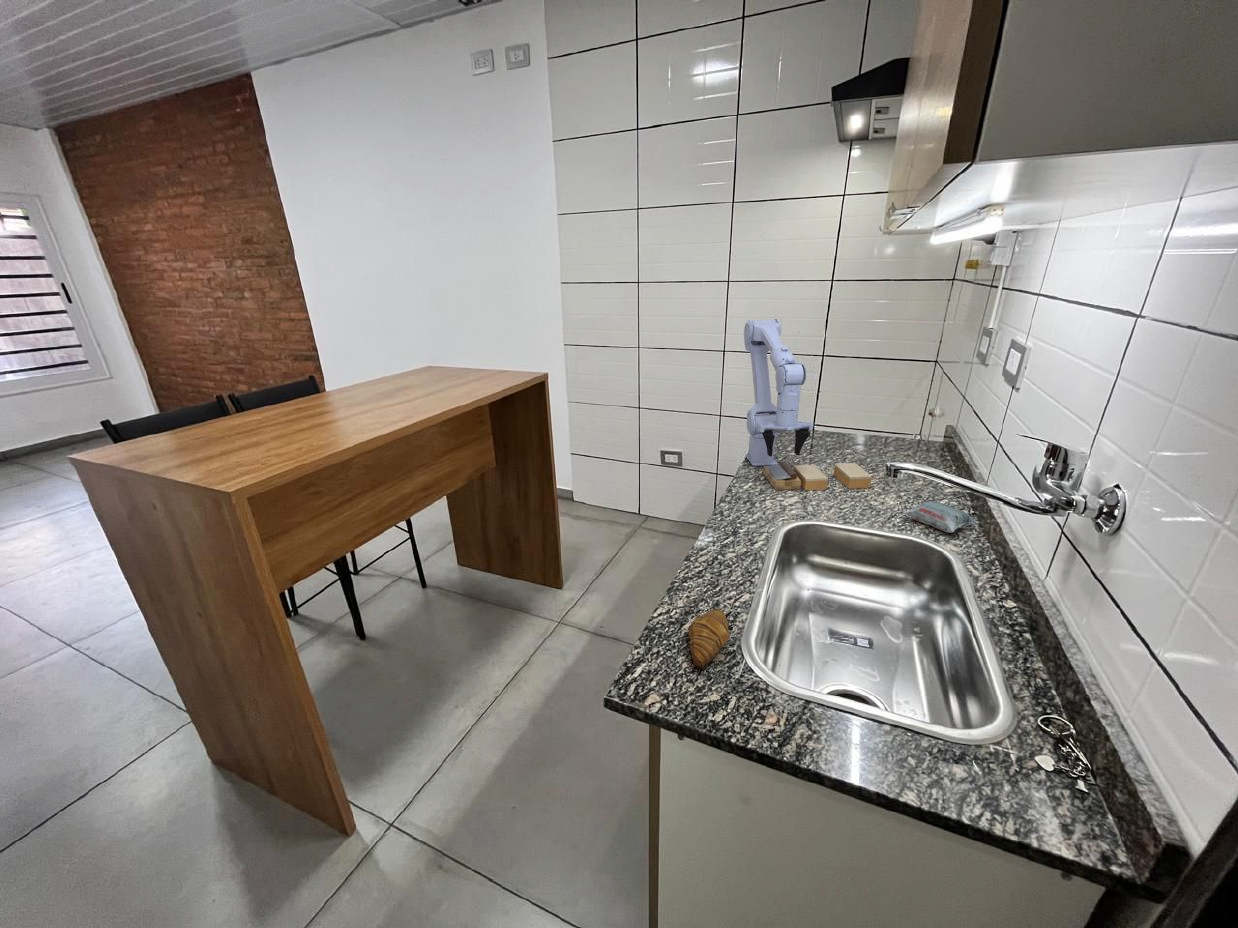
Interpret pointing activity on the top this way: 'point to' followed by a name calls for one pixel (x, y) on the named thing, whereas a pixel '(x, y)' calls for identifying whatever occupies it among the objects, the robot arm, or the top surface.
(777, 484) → the knife block
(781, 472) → the knife
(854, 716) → the top surface
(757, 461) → the robot arm
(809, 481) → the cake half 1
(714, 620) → the croissant
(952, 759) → the top surface
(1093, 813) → the top surface
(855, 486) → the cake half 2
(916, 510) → the packaged food
